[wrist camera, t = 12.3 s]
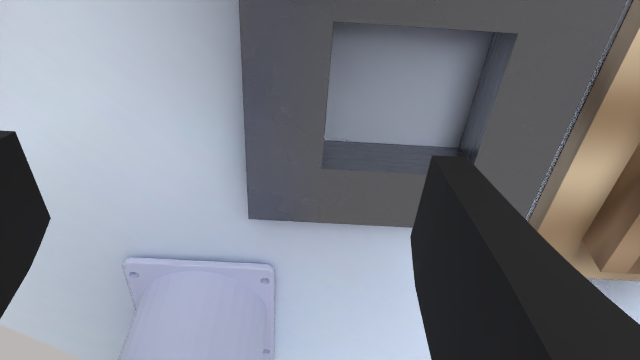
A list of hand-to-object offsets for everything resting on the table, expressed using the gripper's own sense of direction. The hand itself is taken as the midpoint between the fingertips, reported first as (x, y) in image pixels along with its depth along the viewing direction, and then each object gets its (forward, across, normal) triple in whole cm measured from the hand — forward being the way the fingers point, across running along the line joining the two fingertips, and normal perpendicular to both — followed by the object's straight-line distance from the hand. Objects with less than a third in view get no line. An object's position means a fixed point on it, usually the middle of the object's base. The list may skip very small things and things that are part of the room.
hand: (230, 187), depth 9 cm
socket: (+10, -5, +3) cm, 12 cm away
